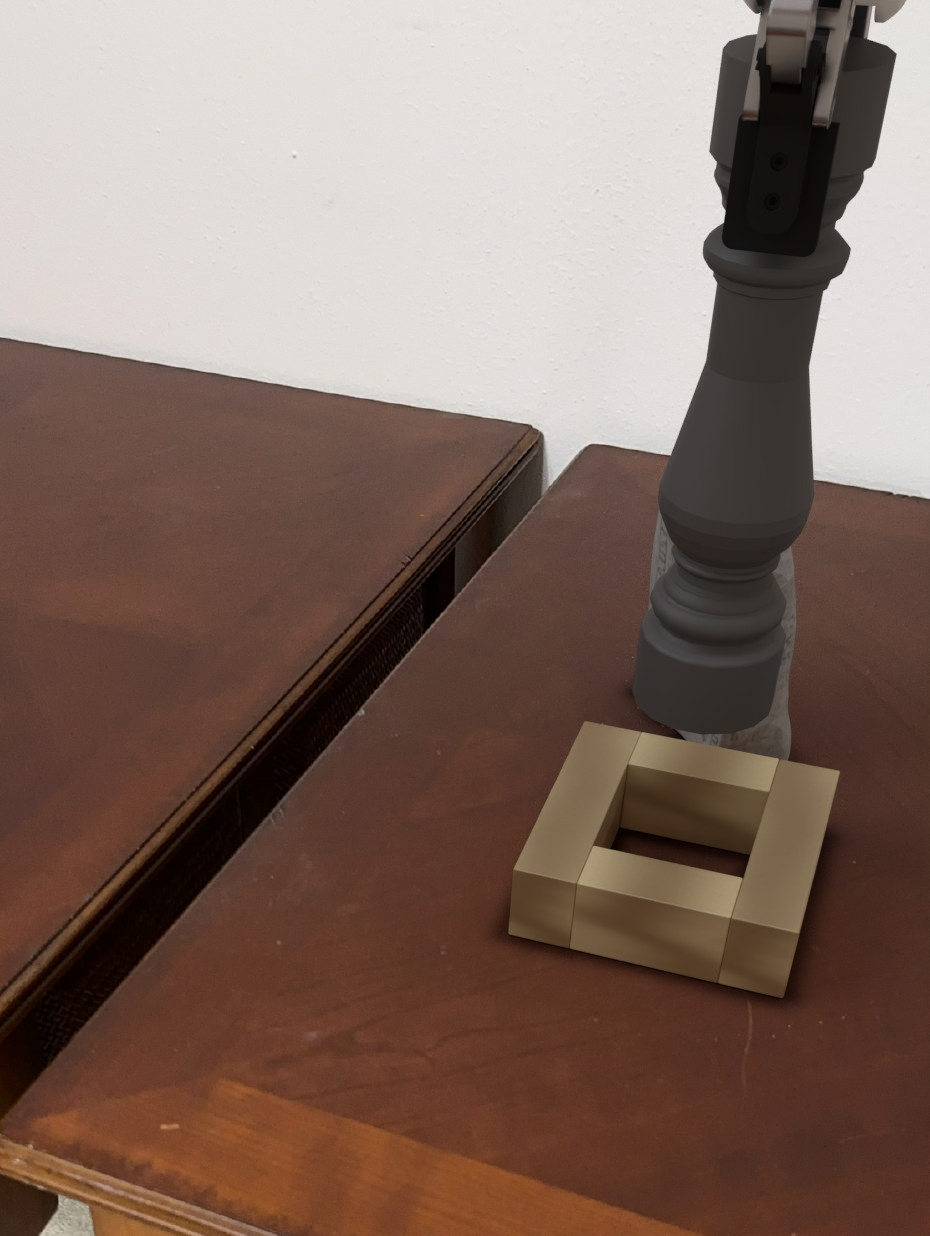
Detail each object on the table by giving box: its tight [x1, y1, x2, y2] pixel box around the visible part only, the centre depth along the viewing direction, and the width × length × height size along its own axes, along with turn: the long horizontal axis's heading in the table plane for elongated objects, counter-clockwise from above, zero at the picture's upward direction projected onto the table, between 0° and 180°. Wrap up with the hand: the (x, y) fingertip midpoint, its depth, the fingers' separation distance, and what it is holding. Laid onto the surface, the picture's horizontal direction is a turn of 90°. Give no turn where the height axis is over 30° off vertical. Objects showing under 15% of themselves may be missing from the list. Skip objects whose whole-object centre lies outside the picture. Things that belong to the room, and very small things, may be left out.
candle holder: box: [631, 33, 898, 735], centre depth 60 cm, size 6×6×25 cm
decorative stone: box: [647, 509, 797, 761], centre depth 80 cm, size 11×6×15 cm, turn 21°
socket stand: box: [508, 720, 841, 999], centre depth 74 cm, size 13×13×4 cm
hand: (784, 216), depth 55 cm, fingers closed on candle holder, 5 cm apart
